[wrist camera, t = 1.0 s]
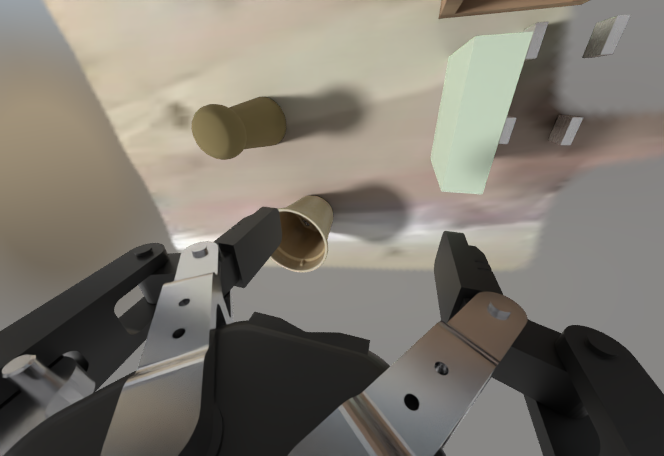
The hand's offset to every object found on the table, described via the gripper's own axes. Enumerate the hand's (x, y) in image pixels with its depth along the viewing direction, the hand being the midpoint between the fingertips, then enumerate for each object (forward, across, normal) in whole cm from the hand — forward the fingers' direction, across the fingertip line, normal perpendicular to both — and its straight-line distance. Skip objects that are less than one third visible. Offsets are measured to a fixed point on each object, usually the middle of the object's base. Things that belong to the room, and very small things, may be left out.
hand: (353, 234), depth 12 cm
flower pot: (+21, +10, +10) cm, 26 cm away
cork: (+21, +16, -2) cm, 27 cm away
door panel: (+21, -7, -4) cm, 23 cm away
